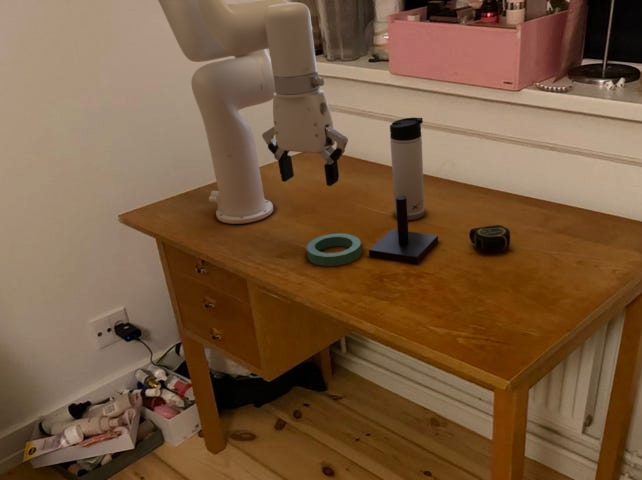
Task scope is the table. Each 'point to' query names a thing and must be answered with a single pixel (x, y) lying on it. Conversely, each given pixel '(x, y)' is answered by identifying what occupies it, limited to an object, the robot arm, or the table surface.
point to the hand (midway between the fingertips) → (310, 181)
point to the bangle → (334, 258)
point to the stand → (403, 240)
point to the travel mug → (408, 164)
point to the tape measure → (490, 238)
